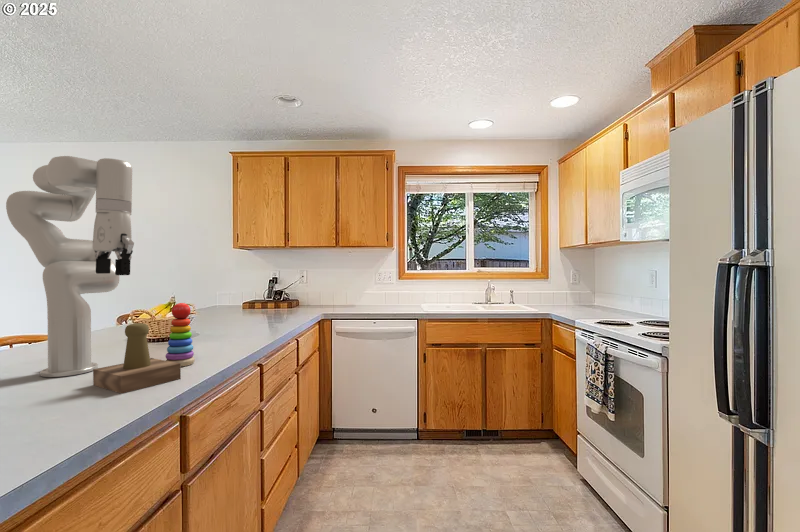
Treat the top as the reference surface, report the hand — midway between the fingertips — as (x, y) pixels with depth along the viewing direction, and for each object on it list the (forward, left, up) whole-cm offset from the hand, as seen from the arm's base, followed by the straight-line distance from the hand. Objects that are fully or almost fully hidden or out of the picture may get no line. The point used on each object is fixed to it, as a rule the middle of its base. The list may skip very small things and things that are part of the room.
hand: (112, 274), depth 102 cm
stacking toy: (-3, +19, -28) cm, 34 cm away
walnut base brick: (+6, +3, -28) cm, 29 cm away
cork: (+6, +3, -24) cm, 25 cm away
